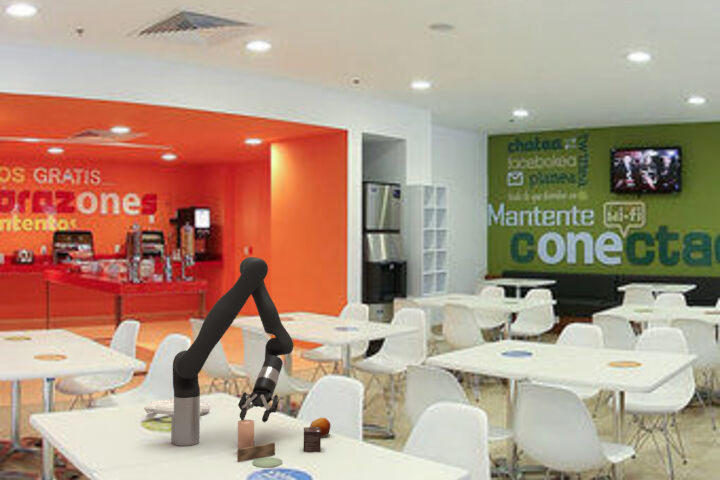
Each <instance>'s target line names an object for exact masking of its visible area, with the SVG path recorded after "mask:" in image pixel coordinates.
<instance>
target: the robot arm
mask: <svg viewBox="0 0 720 480" xmlns="http://www.w3.org/2000/svg"><path fill="white" fill-rule="evenodd" d="M268 266H269V265H268V264H267V262H266V261H265V260H264V259H262V258H260V257H254V256H249V257H246V258H244V259H243V260H241V263H240V265H239V274H240V275H239V276H238V279H237V280H236V282H235V283H234V284H233V286H232V287H231V288H230V289H228V291H227V292H226V293H224V294H223V295H222V296H221V297H220V298H219V299H218V300H217V301H216V303H214V305H213V306H212V307H211V309H210V310H209V312H208V313H207V314H206V316H205V318H204V321H203V322H202V325H201V327H200V329H199V331H198V334H197V337H196V338H195V340H194V341H193V342H192V344H191V345H190V346H189V348H188V349H186V350H181V351H178V353H177V354H176V355H175V356H174V359H173V362H172V388H173V398H174V415H172V416H171V418H170V419H171V421H170V422H171V424H170V425H171V427H170V428H171V429H170V437H171V438H170V441H171V442H170V443H171V444H173V445H175V446H180V447H181V446H182V447H184V446H186V447H187V446H194V445H197V444H199V443H200V428H201V427H200V426H201V425H200V424H201V422H200V421H201V419H200V417H201V415H200V402H201V397H200V396H201V388H200V384H199V373H200V372H201V371H202V369H203V367H204V365H205V364H206V362H207V359H208V358H209V356H210V355H211V353H212V351H213V350H214V348H215V347H216V346H217V344H218V343H219V342H220V341H221V339H222V338H223V337H224V336H225V334H226V332H227V331H228V329H230V327H231V325H232V324H233V322H234V321H235V320H236V318H237V316H238V315H239V313H240V312H241V311H242V309H243V308H244V307H245V305H246V303H247V301H248V300H249V298H250V296H252V298H253V302H254V303H255V306H256V309H257V313H258V315H259V318H260V321H261V324H262V327H263V330H264V332H265V333H266V334H268V335H272V336H274V337H271V338H270V339H268V340H267V341H266V344H265V349H264V351H265V352H264V361H263V364H262V366H261V368H260V371H259V372H258V375H257V378H256V380H255V382H254V383H255V384H254V385H253V390H252V392H251V393H248V392H246V391H245V392H243V394H242V396H241V398H240V399H239V402H238V404H237V406H238V407H239V409H240V412H239V418H240V420H246V416H247V413H248V410H250V409H252V408H254V407H256V408H257V407H259V408H265V410H264V413H263V415H262V418H261V420H262V422H263V423H266V422H267V421H268V420H269V417H270V415H271V414H272V413H276V412H277V410H278V406H279V403H280V398H279V396H278V394H274V393H275V389H276V387H277V385H278V382H279V377H280V373H281V371H282V369H283V365H284V364H283V360H282V358H280V357H279V356H284V355H285V356H286V355H289V354H292V352H293V351H294V342H293V339H292V337H291V335H290V334H289V332H288V331H287V330H286V328H285V327H284V325H283V323H282V320H281V318H280V315H279V312H278V311H279V310H278V309H277V307H276V305H275V303H274V301H273V300H272V297H271V295H270V294H269V292H268V289H267V286H266V284H265V279H266V277H267V275H268V272H269V267H268ZM271 401H272V404H271V406H270V405H269V404H270V402H271Z"/></svg>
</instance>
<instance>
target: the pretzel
mask: <svg viewBox="0 0 720 480" xmlns="http://www.w3.org/2000/svg"><path fill="white" fill-rule="evenodd" d="M211 408H212V407H211V405H210V404H209V403H208V402H206V403H205V402H203V401H202V402H201V401H200V416H201V415H202V414H205V413H208V412H210V410H211ZM143 409H144V411H145V412H146V413H156V414H159V415H160V414H161V415H168V416H174V397H173V398H170V400H165V399H164V400H155V401H151V402H150V403H147V404H146V405H144V407H143Z"/></svg>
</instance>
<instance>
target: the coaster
mask: <svg viewBox="0 0 720 480" xmlns="http://www.w3.org/2000/svg"><path fill="white" fill-rule="evenodd" d="M251 463H252V464H251V465H253V467H257V468H263V469H264V468H267V469H268V468H276V467H279V466H282V465H283V460H282V459H280V458H277V457H271V456H267V457H261V458H256V459H253V460H252V462H251Z"/></svg>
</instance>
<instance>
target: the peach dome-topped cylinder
mask: <svg viewBox="0 0 720 480" xmlns="http://www.w3.org/2000/svg"><path fill="white" fill-rule="evenodd" d="M252 446H255V420H252V419H244V420H241V419H240V420H238V421H237V449H241V448H247V447H252Z"/></svg>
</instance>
